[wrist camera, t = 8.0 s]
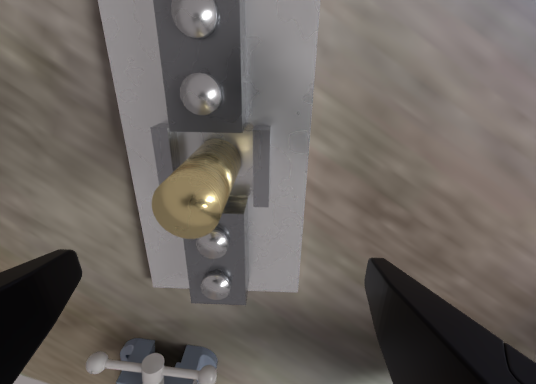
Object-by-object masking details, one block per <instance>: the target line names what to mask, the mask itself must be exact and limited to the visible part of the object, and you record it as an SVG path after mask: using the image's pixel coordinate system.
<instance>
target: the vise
mask: <svg viewBox="0 0 536 384" xmlns="http://www.w3.org/2000/svg"><path fill="white" fill-rule="evenodd" d="M120 358H121V360H122V361H119V360H111V359H109V358H108V355H107V354H106V353H105V352H102V351H98V352H95V353H93V354H92V355H91V356H90V357H89V358H88V360H87V362H86V370H87V371H88V372H89V373H91V374H98V373H100V372H102V371H103V370H104V369H105V368H107V369H115V370H122V372H121V374H120V376H119V378H118V380H117V382H116V384H215V382H216V379H217V370H216V368H217V363H218V360H217V357H216V355H215V354H214V353H213V352H212V351H211V350H209V349H207V348H204V347H199V346H192V345H187V346H186V349H185V352H184V355H183V358H182V361H181V363H179V362H177V363H176V366H175V367H167V366H164V357H163V356H162V355H161V354H159V353H155V340H148V339H141V338H135V339H131V340H129V341H127V342H126V343H125V344H124V346H123V348H122V350H121V352H120Z"/></svg>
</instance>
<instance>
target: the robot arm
mask: <svg viewBox="0 0 536 384" xmlns="http://www.w3.org/2000/svg"><path fill="white" fill-rule="evenodd" d="M81 277H82V269H81V266H80V263H79V260H78V257H77V254H76V252H75V251H73V250H64V249H60V250H56V251H54V252H51V253H49V254H46V255H44V256H41V257H39V258H36V259H33V260H31V261H28V262H26V263H23V264H21V265H18V266H16V267H13V268H11V269H8V270H6V271H3V272H0V384H13V383H14V381H15V380H16V379H17V377H18V376H19V374H20V373H21V371H22V370H23V369H24V367H25V366H26V364H27V363H28V362H29V360H30V359H31V357H32V356H33V354H34V353H35V352H36V350H37V349H38V347H39V346H40V345H41V343H42V342H43V340H44V339H45V337H46V336H47V335H48V333H49V332H50V330H51V329H52V327H53V326H54V324H55V322H56V321H57V319H58V318H59V316H60V314H61V312H62V311H63V309H64V307H65V306H66V304H67V302H68V300H69V299H70V297H71V295H72V293H73V292H74V290H75V288H76V287H77V285H78V283H79V281H80V280H81ZM365 290H366V294H367V298H368V302H369V307H370V311H371V315H372V319H373V324H374V328H375V332H376V336H377V339H378V342H379V345H380V348H381V351H382V354H383V356H384V359H385V362H386V365H387V368H388V370H389V373H390V376H391V379H392V382H393V384H536V363H535V362H533V361H532V360H530V359H529V358H527V357H526V356H525V355H523V354H522V353H520V352H519V351H517V350H516V349H514V348H513V347H512V346H510V345H509V344H507V343H503V341H502V340H501V339H500V338H498V337H497V336H496V335H494V334H493V333H491V332H490V331H488V330H487V329H485V328H484V327H483V326H481V325H480V324H478V323H477V322H475V321H474V320H472V319H471V318H470V317H468V316H467V315H465V314H464V313H462V312H461V311H459V310H458V309H457V308H455V307H454V306H452V305H451V304H449V303H448V302H446V301H445V300H444V299H442V298H441V297H439V296H438V295H436V294H435V293H433V292H432V291H431V290H429V289H428V288H426V287H425V286H423V285H422V284H420V283H419V282H418V281H416V280H415V279H413V278H412V277H410V276H409V275H407V274H406V273H405V272H403V271H402V270H400V269H399V268H397V267H396V266H394V265H393V264H392V263H390V262H389V261H387V260H386V259H384V258H370V259H369V260H368V264H367V269H366V275H365Z"/></svg>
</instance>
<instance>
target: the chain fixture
mask: <svg viewBox="0 0 536 384" xmlns="http://www.w3.org/2000/svg"><path fill="white" fill-rule="evenodd" d="M98 5H99V10H100V15H101V20H102V25H103V30H104V35H105V41H106V46H107V51H108V56H109V61H110V66H111V72H112V77H113V82H114V87H115V92H116V97H117V102H118V108H119V113H120V118H121V123H122V128H123V133H124V139H125V144H126V149H127V154H128V159H129V164H130V169H131V175H132V180H133V185H134V190H135V195H136V200H137V206H138V211H139V216H140V221H141V226H142V231H143V237H144V242H145V247H146V252H147V257H148V262H149V267H150V273H151V278H152V283H153V287H161V288H189V289H190V296H191V303H203V304H230V305H246V301H247V293H248V291H272V292H298V284H299V271H300V258H301V245H302V232H303V219H304V206H305V193H306V180H307V168H308V155H309V142H310V129H311V116H312V103H313V90H314V77H315V64H316V52H317V39H318V26H319V13H320V0H98ZM212 139H221V140H225V141H227V142H229V143H231V144H232V145H233V146H234V147H235V148H236V149H237V151H238V153H239V155H240V158H241V167H240V170H239V173H238V175H237V178H236V180H235V183H234V185H233V188H232V190H231V193H230V195H229V198H228V200H227V203H226V205H225V208H224V210H223V213H222V215H221V218H220V220H219V223H218V225H217V226H216V228H215V229H214V230H213V231H212V232H211V233H209V234H208V235H206V236H204V237H201V238H196V239H186V238H181V237H177V236H175V235H173V234H171V233H169V232H168V231H166V230H165V229H164V228H163V227H162V226H161V225H160V224H159V223H158V221H157V220H156V218H155V216H154V214H153V210H152V197H153V194H154V192H155V190H156V189H157V188H158V186H159V185H160V184H161V183H162V182H163V181H165V180H166V179H167V178H168V177H169V176H170V175H171V174H172V173H173V172H174V171H175V170H176V169H177V168H178V167H179V166H180V165H181V164H182V163H183V162H184V161H185V160H187V159H188V158H189V157H190V156H191V155H192V154H193V153H194V152H195V151H196V150H197V149H198V148H199V147H200V146H201V145H202V144H203V143H205V142H206V141H209V140H212Z"/></svg>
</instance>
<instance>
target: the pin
mask: <svg viewBox="0 0 536 384" xmlns="http://www.w3.org/2000/svg"><path fill="white" fill-rule="evenodd" d="M240 167H241V158H240V155H239V153H238V151H237V149H236V148H235V147H234V146H233V145H232V144H231V143H229V142H227V141H225V140H221V139H212V140H209V141H206V142H205V143H203V144H202V145H201V146H200V147H199V148H198V149H197V150H196V151H195V152H194V153H193V154H192V155H191V156H190V157H189V158H188V159H187V160H185V161H184V162H183V163H182V164H181V165H180V166H179V167H178V168H177V169H176V170H175V171H174V172H173V173H172V174H171V175H170V176H169V177H168V178H167V179H166V180H165V181H163V182H162V183H161V184H160V185H159V186H158V188H157V189H156V190H155V192H154V194H153V197H152V210H153V214H154V216H155V218H156V220H157V221H158V223H159V224H160V225H161V226H162V227H163V228H164V229H165V230H166V231H168V232H169V233H171V234H173V235H175V236H177V237H181V238H186V239H196V238H201V237H204V236H206V235H208V234H209V233H211V232H212V231H213V230H214V229H215V228H216V226H217V225H218V223H219V220H220V218H221V215H222V213H223V210H224V208H225V205H226V203H227V200H228V198H229V195H230V193H231V190H232V188H233V185H234V183H235V180H236V178H237V175H238V173H239V170H240Z"/></svg>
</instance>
